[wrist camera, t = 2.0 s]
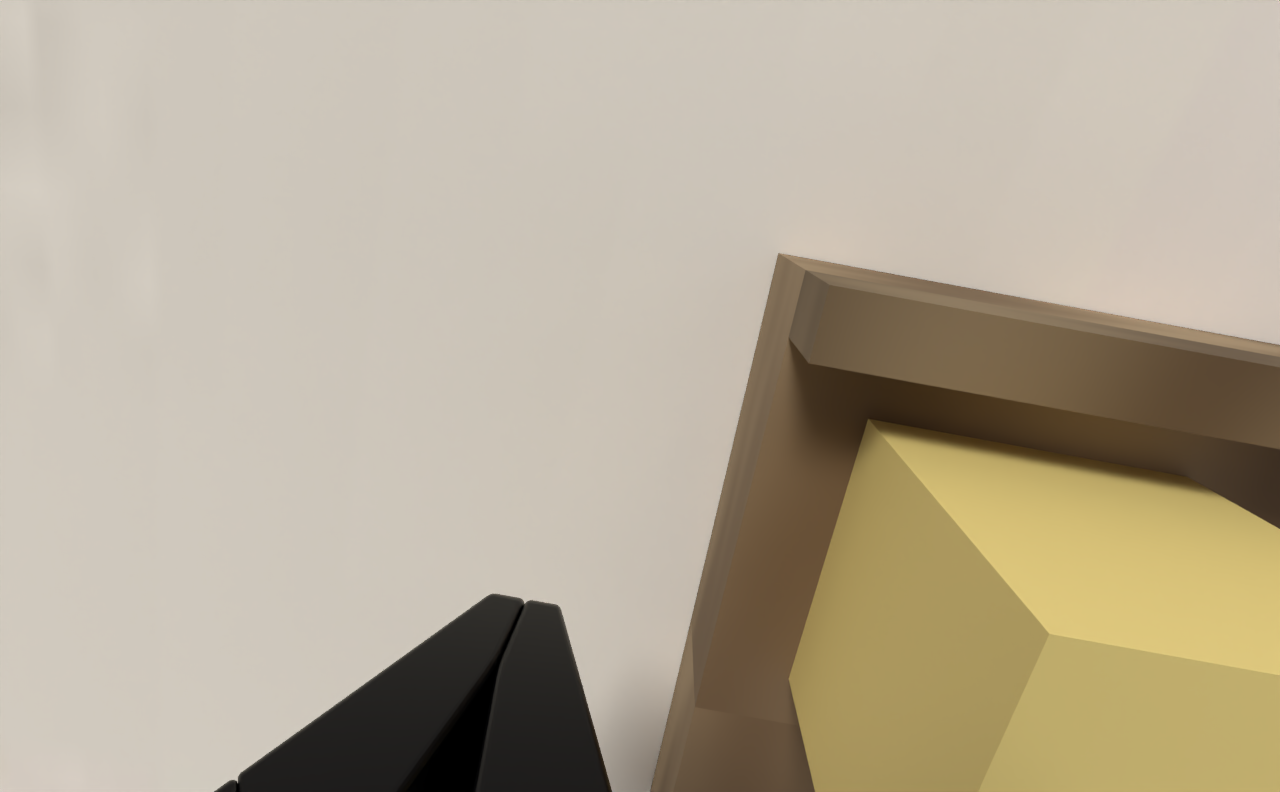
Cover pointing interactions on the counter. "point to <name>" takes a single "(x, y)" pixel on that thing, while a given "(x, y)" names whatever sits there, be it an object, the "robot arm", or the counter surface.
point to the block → (1038, 627)
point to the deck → (939, 401)
